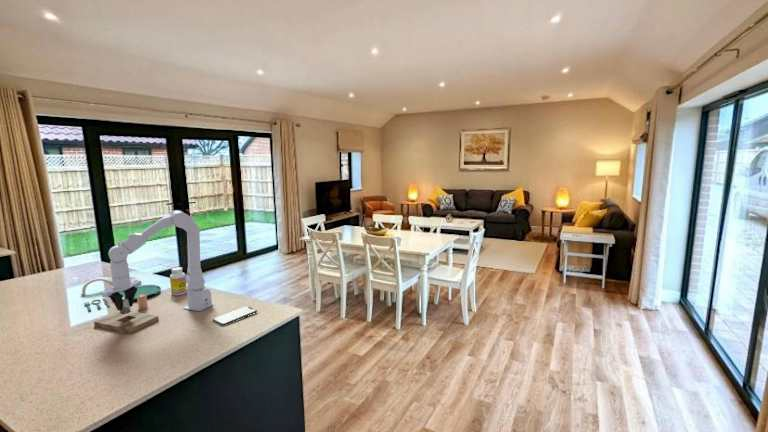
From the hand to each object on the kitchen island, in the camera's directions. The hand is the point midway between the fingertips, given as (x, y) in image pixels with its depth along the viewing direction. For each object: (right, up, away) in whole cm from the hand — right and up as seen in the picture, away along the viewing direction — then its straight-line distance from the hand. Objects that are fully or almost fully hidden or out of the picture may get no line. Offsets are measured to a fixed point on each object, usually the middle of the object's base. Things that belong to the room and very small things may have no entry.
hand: (125, 308), depth 146 cm
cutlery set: (-20, -3, +28) cm, 35 cm away
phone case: (+42, -6, +6) cm, 43 cm away
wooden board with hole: (0, -7, +1) cm, 7 cm away
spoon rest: (-36, -1, +41) cm, 55 cm away
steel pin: (0, -2, 0) cm, 2 cm away
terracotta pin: (-3, -4, +16) cm, 17 cm away
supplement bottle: (+3, -2, +34) cm, 34 cm away
